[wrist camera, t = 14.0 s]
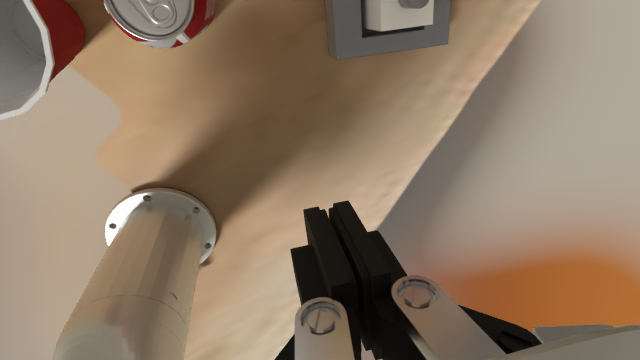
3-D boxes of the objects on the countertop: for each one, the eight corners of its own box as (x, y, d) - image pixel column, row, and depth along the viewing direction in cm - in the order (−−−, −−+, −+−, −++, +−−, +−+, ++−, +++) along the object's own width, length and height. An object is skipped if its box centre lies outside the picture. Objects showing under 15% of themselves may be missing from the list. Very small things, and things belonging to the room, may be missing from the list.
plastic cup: (-31, -68, 28) (-198, -112, 17) (119, -16, 31) (56, -26, 21) (-24, 66, 32) (-156, 97, 21) (107, 99, 35) (50, 140, 25)
